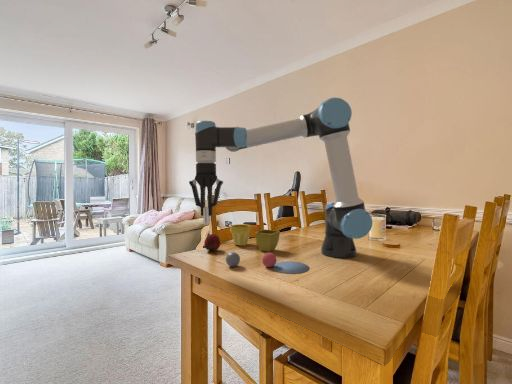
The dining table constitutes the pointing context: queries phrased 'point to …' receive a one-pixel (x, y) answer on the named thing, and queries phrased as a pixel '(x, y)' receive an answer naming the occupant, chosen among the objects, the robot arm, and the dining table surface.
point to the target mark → (290, 267)
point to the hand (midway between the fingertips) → (206, 224)
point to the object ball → (269, 259)
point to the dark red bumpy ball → (212, 242)
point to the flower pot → (267, 239)
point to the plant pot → (240, 234)
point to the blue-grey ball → (232, 259)
